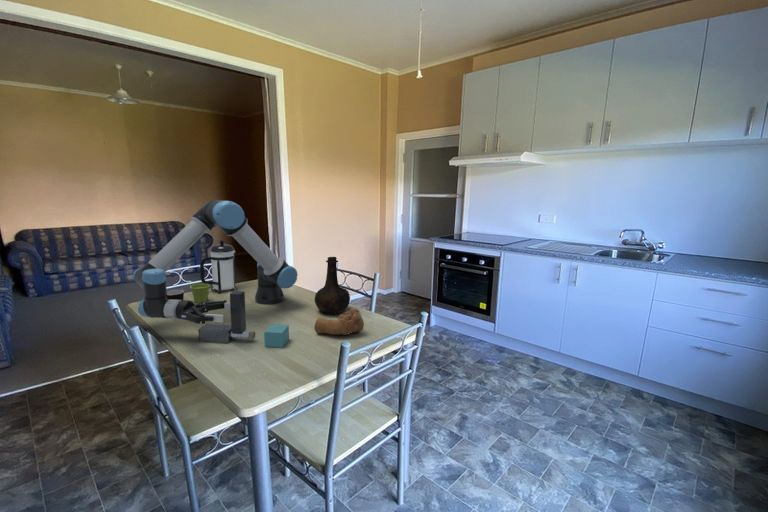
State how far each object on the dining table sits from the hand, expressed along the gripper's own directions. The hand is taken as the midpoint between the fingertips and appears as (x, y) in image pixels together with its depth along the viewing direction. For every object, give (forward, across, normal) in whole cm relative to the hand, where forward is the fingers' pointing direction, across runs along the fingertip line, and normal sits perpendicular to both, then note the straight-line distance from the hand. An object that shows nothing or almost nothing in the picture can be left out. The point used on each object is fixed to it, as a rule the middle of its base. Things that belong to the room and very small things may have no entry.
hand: (232, 312), depth 136 cm
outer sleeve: (-7, 0, -12) cm, 14 cm away
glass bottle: (+31, -40, -12) cm, 53 cm away
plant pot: (-40, -43, -12) cm, 60 cm away
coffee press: (-39, -64, -12) cm, 76 cm away
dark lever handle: (-1, -1, -11) cm, 11 cm away
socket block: (+18, -1, -12) cm, 21 cm away
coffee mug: (-44, -26, -12) cm, 53 cm away
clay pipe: (+41, -14, -12) cm, 45 cm away
